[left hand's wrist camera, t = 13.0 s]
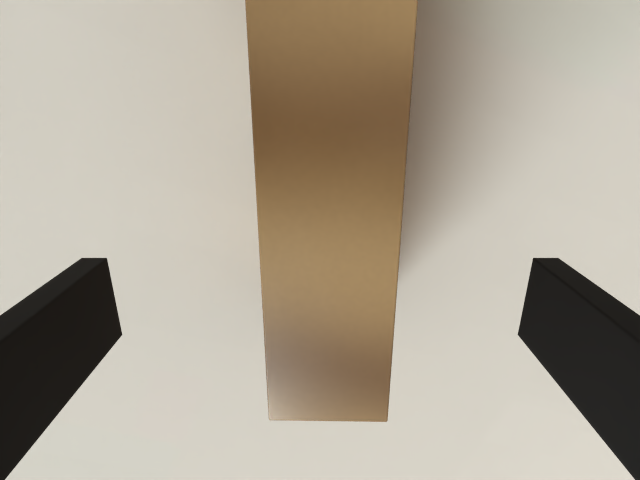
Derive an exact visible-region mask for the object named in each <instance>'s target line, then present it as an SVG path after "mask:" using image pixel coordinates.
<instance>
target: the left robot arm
mask: <svg viewBox="0 0 640 480" xmlns="http://www.w3.org/2000/svg"><path fill="white" fill-rule="evenodd" d="M121 335H122V332H121V327H120V322H119V317H118V312H117V307H116V302H115V297H114V292H113V287H112V282H111V277H110V272H109V267H108V262H107V258H81V259H80V260H78V261H77V262H76V263H74V264H73V265H71V266H70V267H68V268H67V269H66V270H64V271H63V272H61V273H60V274H59V275H57V276H56V277H54V278H53V279H51V280H50V281H49V282H47V283H46V284H44V285H43V286H42V287H40V288H39V289H37V290H36V291H34V292H33V293H32V294H30V295H29V296H27V297H26V298H25V299H23V300H22V301H20V302H19V303H17V304H16V305H15V306H13V307H12V308H10V309H9V310H7V311H6V312H5V313H3V314H2V315H0V480H5V479H6V477H7V476H8V475H9V474H10V473H11V471H12V470H13V469H14V468H15V466H16V465H17V464H18V463H19V461H20V460H21V459H22V458H23V456H24V455H25V454H26V453H27V452H28V450H29V449H30V448H31V447H32V445H33V444H34V443H35V442H36V440H37V439H38V438H39V437H40V436H41V434H42V433H43V432H44V431H45V429H46V428H47V427H48V426H49V424H50V423H51V422H52V421H53V419H54V418H55V417H56V416H57V415H58V413H59V412H60V411H61V410H62V408H63V407H64V406H65V405H66V403H67V402H68V401H69V400H70V398H71V397H72V396H73V395H74V394H75V392H76V391H77V390H78V389H79V387H80V386H81V385H82V384H83V382H84V381H85V380H86V379H87V377H88V376H89V375H90V374H91V373H92V371H93V370H94V369H95V368H96V366H97V365H98V364H99V363H100V361H101V360H102V359H103V358H104V356H105V355H106V354H107V353H108V352H109V350H110V349H111V348H112V347H113V345H114V344H115V343H116V342H117V340H118V339H119V338H120V337H121ZM518 335H519V337H520V338H521V339H522V340H523V342H524V343H525V344H526V345H527V347H528V348H529V349H530V350H531V352H532V353H533V354H534V355H535V356H536V358H537V359H538V360H539V361H540V363H541V364H542V365H543V366H544V368H545V369H546V370H547V371H548V373H549V374H550V375H551V376H552V377H553V379H554V380H555V381H556V382H557V384H558V385H559V386H560V387H561V389H562V390H563V391H564V392H565V394H566V395H567V396H568V397H569V398H570V400H571V401H572V402H573V403H574V405H575V406H576V407H577V408H578V410H579V411H580V412H581V413H582V415H583V416H584V417H585V418H586V419H587V421H588V422H589V423H590V424H591V426H592V427H593V428H594V429H595V431H596V432H597V433H598V434H599V436H600V437H601V438H602V439H603V440H604V442H605V443H606V444H607V445H608V447H609V448H610V449H611V450H612V452H613V453H614V454H615V455H616V457H617V458H618V459H619V460H620V461H621V463H622V464H623V465H624V466H625V468H626V469H627V470H628V471H629V473H630V474H631V475H632V476H633V477H634V479H635V480H640V315H638V314H637V313H635V312H634V311H633V310H631V309H630V308H628V307H627V306H625V305H624V304H623V303H621V302H620V301H618V300H617V299H615V298H614V297H613V296H611V295H610V294H608V293H607V292H606V291H604V290H603V289H601V288H600V287H598V286H597V285H596V284H594V283H593V282H591V281H590V280H589V279H587V278H586V277H584V276H583V275H581V274H580V273H579V272H577V271H576V270H574V269H573V268H572V267H570V266H569V265H567V264H566V263H564V262H563V261H562V260H560V259H559V258H533V262H532V267H531V272H530V277H529V282H528V287H527V292H526V297H525V302H524V307H523V312H522V317H521V322H520V327H519V332H518Z"/></svg>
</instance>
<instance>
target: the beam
mask: <svg viewBox="0 0 640 480" xmlns="http://www.w3.org/2000/svg"><path fill="white" fill-rule="evenodd" d="M245 4H246V21H247V39H248V57H249V75H250V92H251V110H252V128H253V146H254V163H255V181H256V199H257V217H258V234H259V252H260V270H261V288H262V305H263V323H264V341H265V358H266V376H267V394H268V412H269V420H298V421H371V422H387V420H388V406H389V392H390V378H391V365H392V351H393V337H394V323H395V309H396V296H397V282H398V268H399V254H400V241H401V227H402V213H403V199H404V186H405V172H406V158H407V144H408V130H409V117H410V103H411V89H412V75H413V62H414V48H415V34H416V20H417V7H418V0H245Z"/></svg>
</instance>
